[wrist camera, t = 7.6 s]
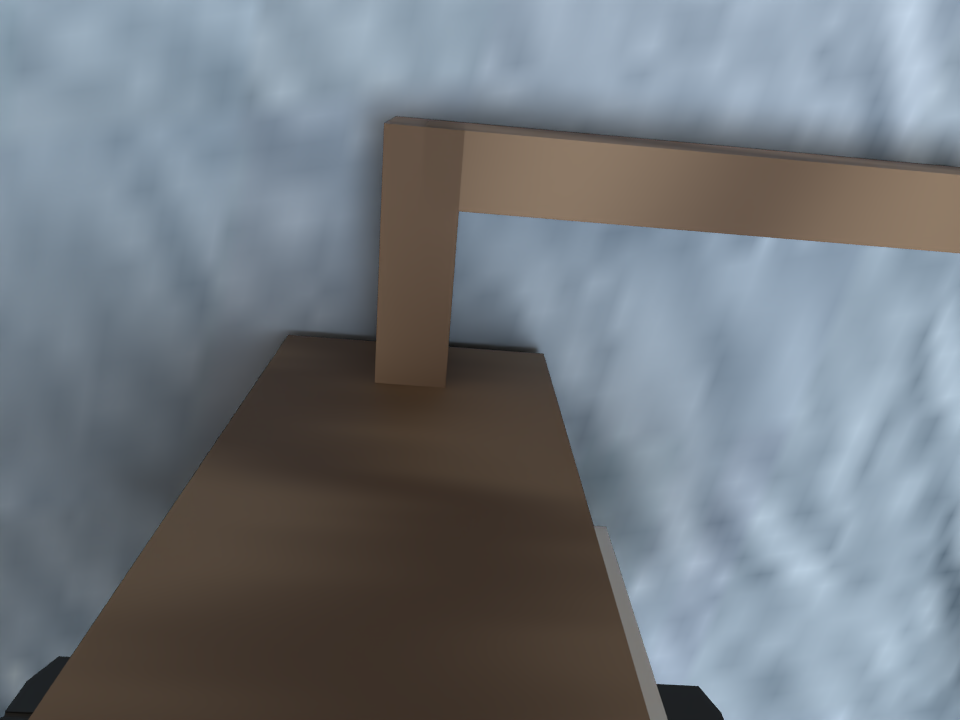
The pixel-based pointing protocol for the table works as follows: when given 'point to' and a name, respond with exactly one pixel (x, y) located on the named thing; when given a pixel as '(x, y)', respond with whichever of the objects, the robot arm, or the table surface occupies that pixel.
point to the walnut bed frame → (438, 461)
